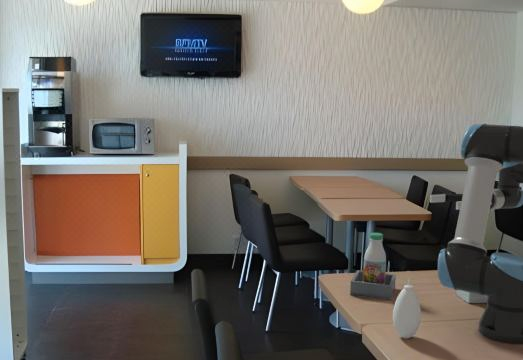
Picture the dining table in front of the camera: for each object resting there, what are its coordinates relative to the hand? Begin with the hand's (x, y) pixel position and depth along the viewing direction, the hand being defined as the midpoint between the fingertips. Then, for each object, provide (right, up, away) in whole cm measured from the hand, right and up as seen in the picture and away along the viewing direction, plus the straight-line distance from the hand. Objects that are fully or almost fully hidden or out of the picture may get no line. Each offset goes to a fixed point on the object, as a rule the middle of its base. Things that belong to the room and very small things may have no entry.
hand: (443, 202), depth 211 cm
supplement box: (+9, -34, -5) cm, 35 cm away
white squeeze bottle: (-23, -38, -40) cm, 60 cm away
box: (-25, -32, -1) cm, 41 cm away
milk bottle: (-25, -31, -1) cm, 40 cm away
